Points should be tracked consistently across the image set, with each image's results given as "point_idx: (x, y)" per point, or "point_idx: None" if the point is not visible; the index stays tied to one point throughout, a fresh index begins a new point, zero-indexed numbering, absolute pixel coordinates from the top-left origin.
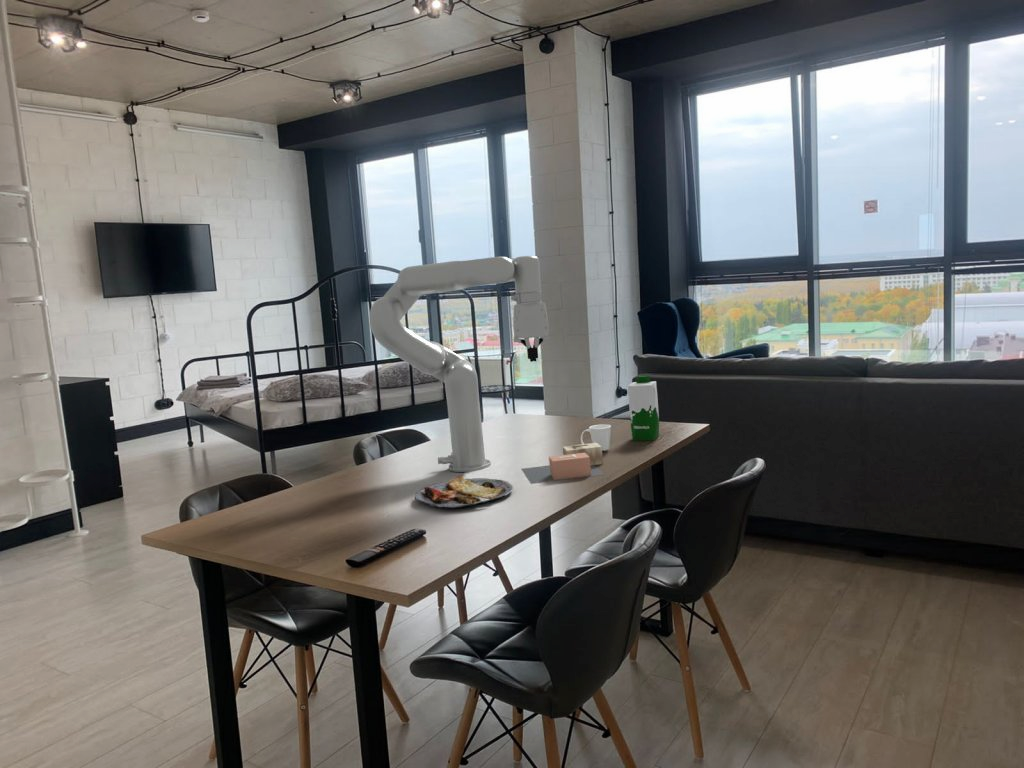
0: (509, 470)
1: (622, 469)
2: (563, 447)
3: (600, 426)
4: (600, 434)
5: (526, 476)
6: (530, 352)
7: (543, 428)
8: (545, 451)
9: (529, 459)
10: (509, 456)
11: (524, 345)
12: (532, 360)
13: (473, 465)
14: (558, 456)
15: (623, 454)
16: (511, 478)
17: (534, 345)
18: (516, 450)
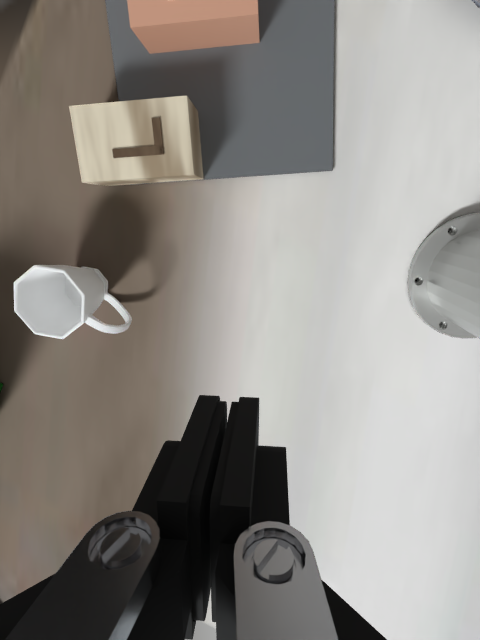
0: (365, 184)
1: (47, 39)
2: (192, 159)
3: (49, 331)
4: (60, 267)
5: (333, 52)
6: (253, 457)
7: (210, 619)
8: (235, 372)
9: (290, 298)
10: (338, 361)
11: (351, 608)
12: (241, 399)
13: (475, 231)
14: (224, 1)
15: (34, 234)
16: (377, 69)
17: (156, 557)
18: (309, 422)
